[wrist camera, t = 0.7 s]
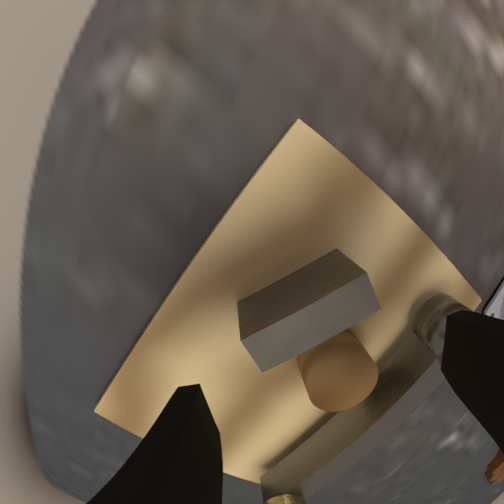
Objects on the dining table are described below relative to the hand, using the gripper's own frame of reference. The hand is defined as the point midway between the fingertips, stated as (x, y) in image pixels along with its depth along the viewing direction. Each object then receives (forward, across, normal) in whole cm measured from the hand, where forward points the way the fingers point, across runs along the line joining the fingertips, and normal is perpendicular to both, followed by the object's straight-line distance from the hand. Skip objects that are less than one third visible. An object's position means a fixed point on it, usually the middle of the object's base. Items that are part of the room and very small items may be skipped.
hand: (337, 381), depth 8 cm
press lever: (+8, -3, +10) cm, 14 cm away
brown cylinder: (+9, -2, +6) cm, 11 cm away
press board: (+10, 0, +7) cm, 12 cm away
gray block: (+10, 0, +1) cm, 10 cm away
